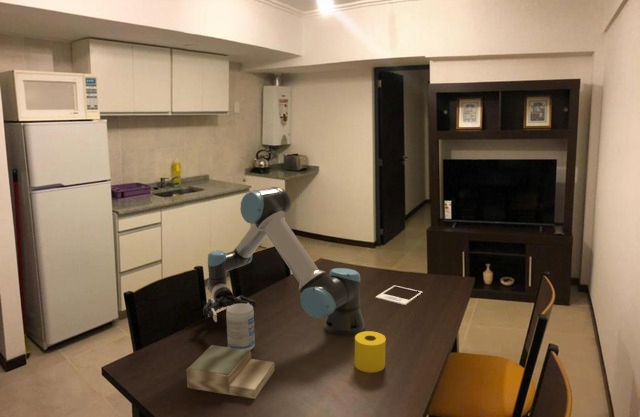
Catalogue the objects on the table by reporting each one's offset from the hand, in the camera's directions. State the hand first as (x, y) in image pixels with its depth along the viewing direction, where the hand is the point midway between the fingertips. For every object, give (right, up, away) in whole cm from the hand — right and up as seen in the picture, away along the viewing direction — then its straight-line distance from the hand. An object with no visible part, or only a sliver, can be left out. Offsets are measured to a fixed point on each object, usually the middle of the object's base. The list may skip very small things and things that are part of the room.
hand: (234, 315), depth 177 cm
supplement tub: (+4, -10, -7) cm, 13 cm away
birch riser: (+4, -14, -28) cm, 31 cm away
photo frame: (+68, 0, +41) cm, 79 cm away
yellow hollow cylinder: (+48, -12, -19) cm, 53 cm away
